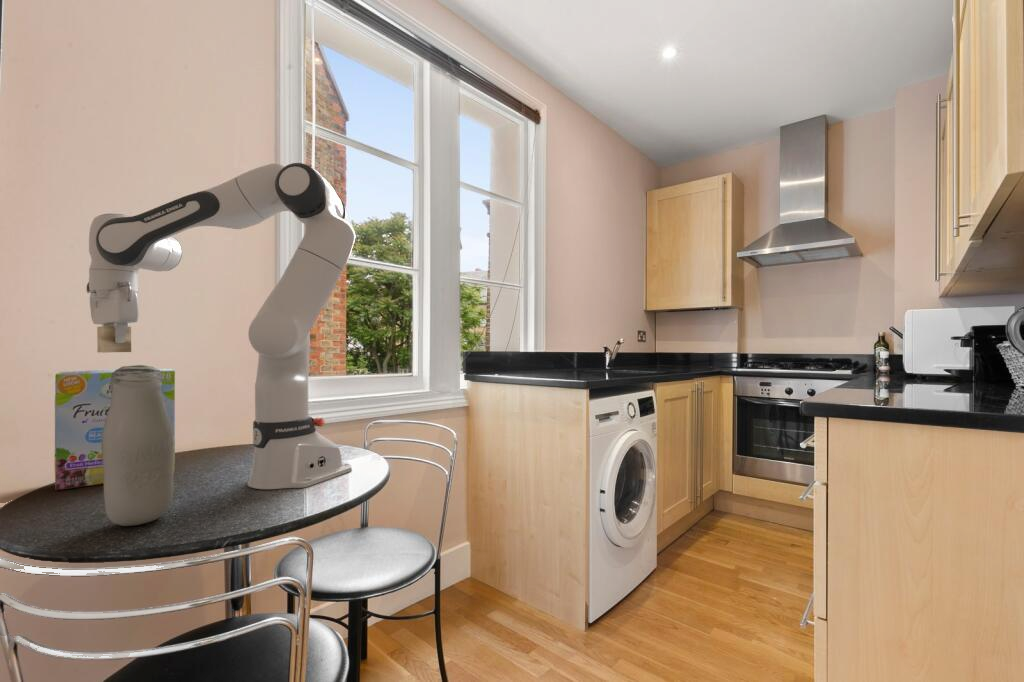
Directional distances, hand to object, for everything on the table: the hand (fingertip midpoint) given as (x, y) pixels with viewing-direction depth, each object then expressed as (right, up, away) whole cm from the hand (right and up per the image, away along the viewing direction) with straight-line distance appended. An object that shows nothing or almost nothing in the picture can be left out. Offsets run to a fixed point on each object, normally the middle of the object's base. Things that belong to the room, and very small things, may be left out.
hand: (114, 343), depth 112 cm
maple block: (0, -2, 0) cm, 2 cm away
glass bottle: (+27, -32, -28) cm, 50 cm away
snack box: (+1, -32, 0) cm, 32 cm away
